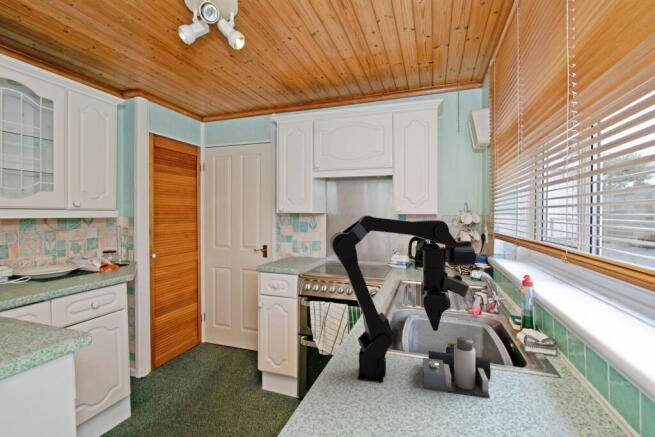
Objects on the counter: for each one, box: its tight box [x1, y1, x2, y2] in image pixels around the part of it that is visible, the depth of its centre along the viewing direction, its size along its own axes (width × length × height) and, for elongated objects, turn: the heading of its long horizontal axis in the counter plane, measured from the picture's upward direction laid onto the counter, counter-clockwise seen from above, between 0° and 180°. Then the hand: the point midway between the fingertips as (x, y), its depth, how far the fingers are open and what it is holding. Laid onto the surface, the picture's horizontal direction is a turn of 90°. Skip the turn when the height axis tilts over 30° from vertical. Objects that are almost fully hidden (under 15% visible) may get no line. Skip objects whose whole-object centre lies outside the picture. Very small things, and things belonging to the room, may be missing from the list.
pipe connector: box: [427, 342, 492, 380], centre depth 86 cm, size 12×5×15 cm
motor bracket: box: [422, 357, 491, 399], centre depth 78 cm, size 15×8×5 cm, turn 75°
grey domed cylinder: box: [453, 336, 476, 389], centre depth 77 cm, size 5×5×11 cm
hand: (433, 324), depth 83 cm, fingers open, 9 cm apart
